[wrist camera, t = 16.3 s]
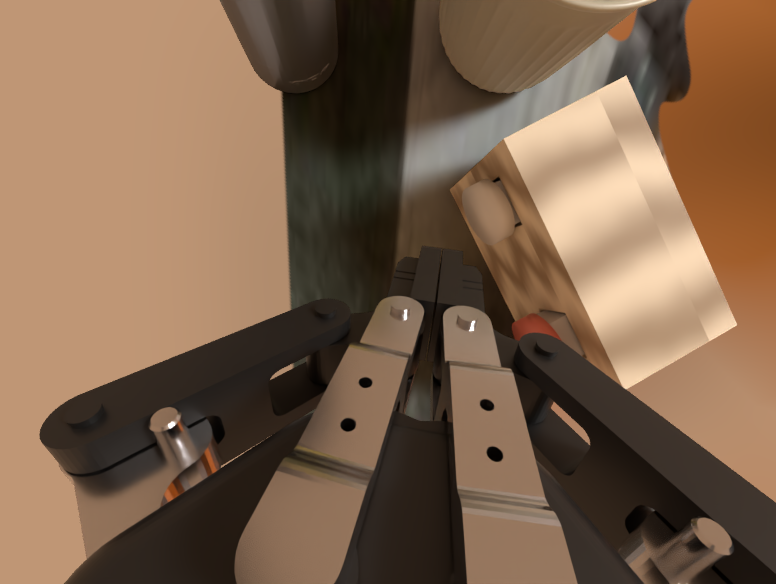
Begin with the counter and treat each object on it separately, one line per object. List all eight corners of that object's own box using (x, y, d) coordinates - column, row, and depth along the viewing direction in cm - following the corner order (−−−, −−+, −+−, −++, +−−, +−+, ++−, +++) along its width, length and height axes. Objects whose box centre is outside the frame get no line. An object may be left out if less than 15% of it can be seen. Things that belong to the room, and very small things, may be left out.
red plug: (504, 318, 32) (532, 326, 27) (583, 275, 33) (625, 274, 28) (529, 367, 33) (561, 384, 28) (606, 323, 33) (652, 332, 28)
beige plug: (455, 196, 32) (475, 180, 26) (537, 153, 32) (572, 129, 27) (481, 248, 32) (505, 242, 27) (562, 205, 33) (600, 191, 27)
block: (449, 189, 38) (503, 138, 24) (529, 148, 39) (626, 75, 25) (529, 350, 40) (624, 390, 26) (605, 308, 40) (737, 325, 26)
